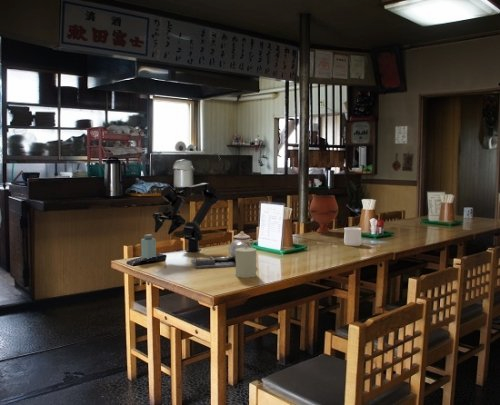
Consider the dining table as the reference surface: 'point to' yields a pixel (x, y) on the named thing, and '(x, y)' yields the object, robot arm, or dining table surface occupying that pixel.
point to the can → (245, 262)
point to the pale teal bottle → (148, 246)
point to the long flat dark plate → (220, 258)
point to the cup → (352, 236)
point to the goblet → (323, 211)
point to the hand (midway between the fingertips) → (161, 233)
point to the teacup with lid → (243, 238)
